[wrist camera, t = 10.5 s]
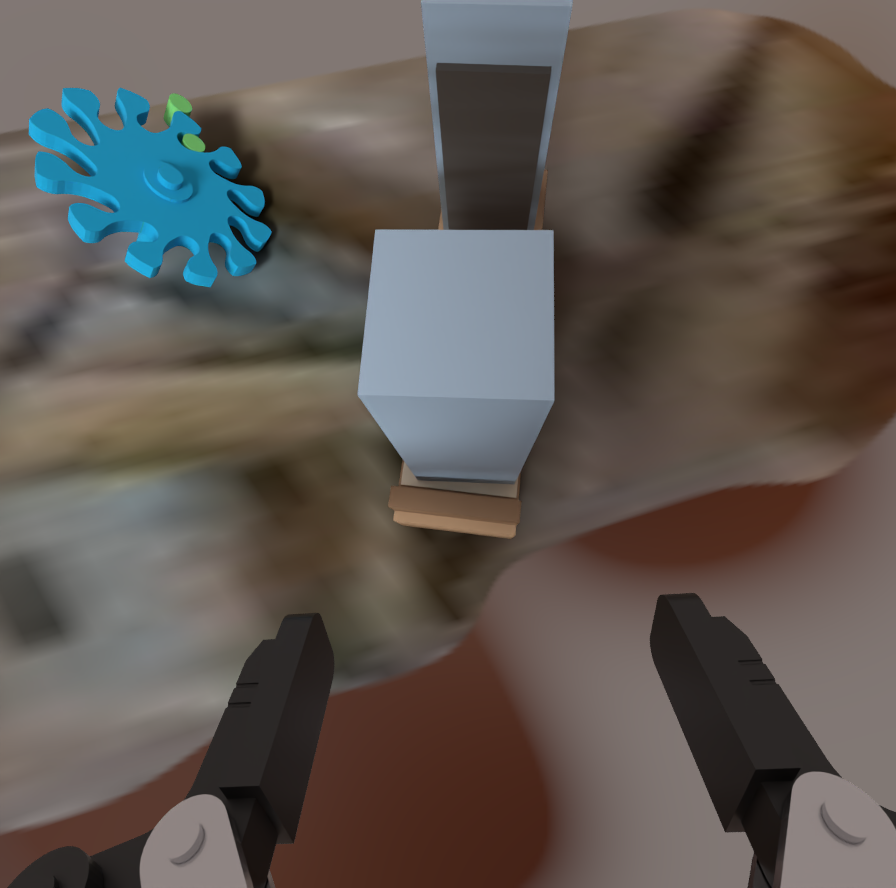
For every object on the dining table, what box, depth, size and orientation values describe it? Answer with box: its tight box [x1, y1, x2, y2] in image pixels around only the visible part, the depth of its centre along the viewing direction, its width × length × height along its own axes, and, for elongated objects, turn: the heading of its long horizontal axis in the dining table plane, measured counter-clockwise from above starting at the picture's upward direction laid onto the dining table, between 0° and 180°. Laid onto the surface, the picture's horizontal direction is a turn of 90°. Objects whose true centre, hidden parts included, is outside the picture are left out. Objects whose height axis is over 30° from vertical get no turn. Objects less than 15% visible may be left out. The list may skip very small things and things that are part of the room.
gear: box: [29, 88, 272, 287], centre depth 24 cm, size 11×6×10 cm
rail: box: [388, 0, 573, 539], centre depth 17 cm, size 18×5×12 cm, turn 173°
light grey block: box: [358, 230, 554, 484], centre depth 15 cm, size 4×4×10 cm
